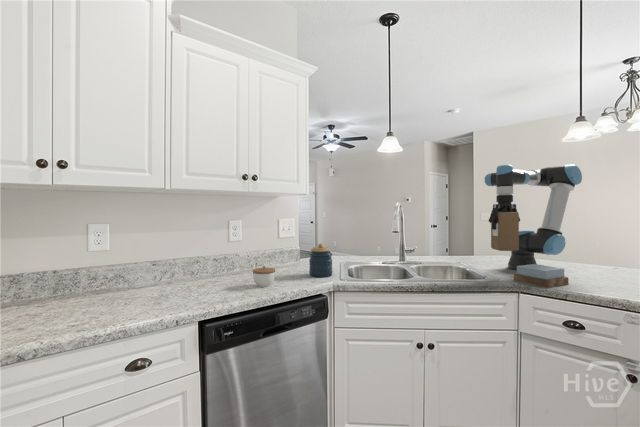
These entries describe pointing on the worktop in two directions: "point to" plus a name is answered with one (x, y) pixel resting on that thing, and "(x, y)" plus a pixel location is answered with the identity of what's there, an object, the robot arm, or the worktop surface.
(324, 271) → the canister
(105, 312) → the worktop surface
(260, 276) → the lidded jar
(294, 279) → the worktop surface
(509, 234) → the block
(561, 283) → the tower base
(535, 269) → the tower top
